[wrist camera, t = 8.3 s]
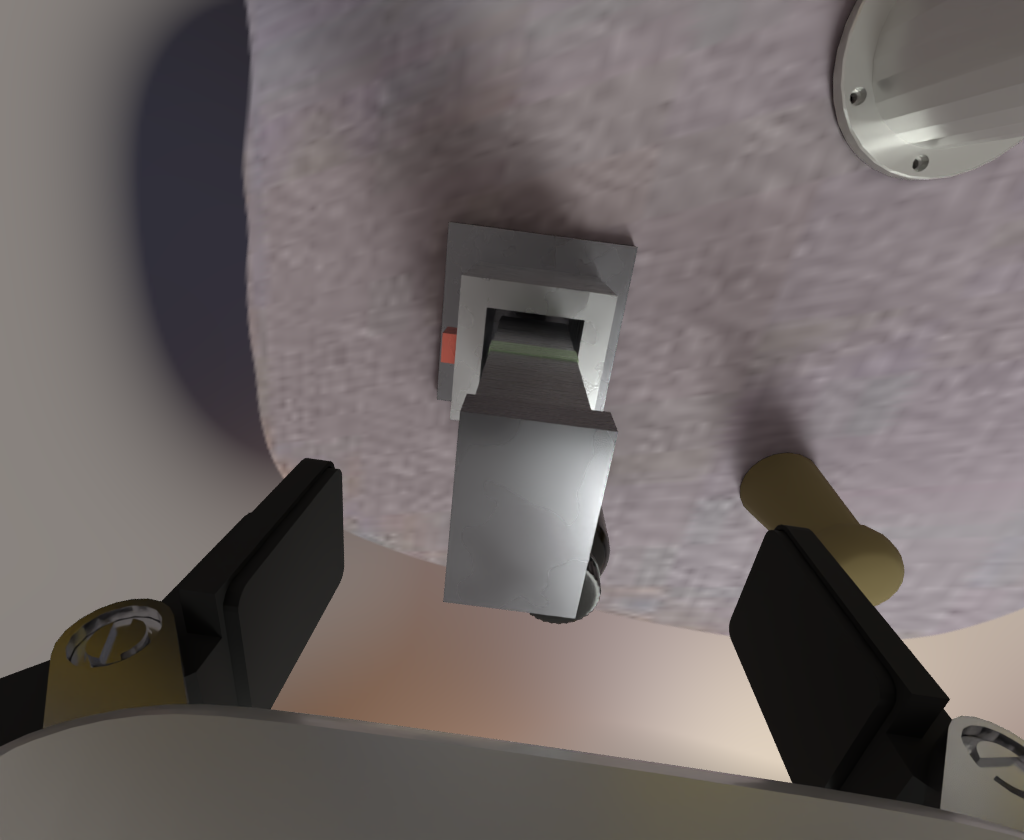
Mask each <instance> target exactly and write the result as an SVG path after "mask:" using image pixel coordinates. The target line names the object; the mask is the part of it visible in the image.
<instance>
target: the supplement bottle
mask: <svg viewBox="0 0 1024 840" xmlns="http://www.w3.org/2000/svg"><path fill="white" fill-rule="evenodd" d="M609 554H610V546H609V538H608V534H607V529H606V524H605V520H604V515H603V510H602V506H601V508H600V512H599V517H598V521H597V526H596V530H595V534H594V539H593V543H592V547H591V552H590V556H589V561H588V565H587V569H586V574H585V578H584V582H583V587H582V591H581V595H580V600H579V604H578V609H577V613H576V617H575V619H574V618H566V617H559V616H551V615H543V614H535V613H530V615H532V616H535V618H537V619H540V620H542V621H544V622H549V623H557V624H561V623H568V622H575V621H576V620H580V619H582V618H583V617H585V616H587V615H588V614H589V613H590V612H592V611H593V609H594V608H595V607H596V606H597V602H598V601H599V600H600V594H601V588H600V576H601V574H602V573H603V571H604V570H605V568H606V566H607V563H608V560H609Z"/></svg>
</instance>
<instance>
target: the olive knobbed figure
mask: <svg viewBox="0 0 1024 840" xmlns="http://www.w3.org/2000/svg"><path fill="white" fill-rule="evenodd" d="M740 498H741V501H742V503H743V506H744V507H745V508H746V509H747V510H748V511H749V512H750V513H751V514H752V515H753V516H754V517H755V518H756V519H757V520H758V521H759V522H760V523H761V524H762V525H763V526H764V527H766V528H767V529H768V530H774V529H775V527H777V526H778V525H781V524H782V525H789V526H796V527H804V528H808V529H810V530H811V531H812V532H813V533H814V534H815V535H816V536H817V538H818V539H819V540H820V541H821V542H822V544H823V545H824V546H825V547H826V549H827V550H828V551H829V552H830V553H831V555H832V556H833V557H834V558H835V559H836V561H837V562H838V563H839V564H840V566H841V567H842V568H843V569H844V570H845V572H846V573H847V574H848V575H849V577H850V578H851V579H852V580H853V581H854V583H855V584H856V585H857V586H858V588H859V589H860V590H861V591H862V592H863V594H864V595H865V596H866V597H867V599H868V600H869V601H870V602H871V603H872V605H873V606H876V605H879V604H881V603H882V602H884V601H886V600H888V599H889V598H890V597H891V596H892V595H893V594H894V593H895V592H897V590H898V589H899V587H900V585H901V584H902V582H903V577H904V565H903V561H902V557H901V555H900V553H899V551H898V550H897V548H896V547H895V546H894V545H893V544H892V543H891V542H890V540H888V539H887V538H886V537H885V536H884V535H883V534H881V533H879V532H877V531H875V530H873V529H871V528H869V527H867V526H865V525H860V524H859V522H858V521H857V520H856V519H855V517H854V516H853V515H852V513H851V512H850V511H849V509H848V508H847V507H846V505H845V504H844V503H843V501H842V500H841V499H840V497H839V496H838V495H837V493H836V492H835V491H834V489H833V488H832V487H831V485H830V484H829V483H828V481H827V480H826V479H825V477H824V476H823V475H822V473H821V472H820V471H819V469H818V468H817V467H816V466H815V465H814V463H813V462H812V461H811V460H810V459H808V458H806V457H804V456H802V455H800V454H793V453H781V454H774V455H772V456H769V457H767V458H764V459H762V460H761V461H759V462H758V463H757V464H755V465H754V466H752V467H751V469H750V470H749V471H748V472H747V474H746V475H745V476H744V478H743V481H742V484H741V486H740Z"/></svg>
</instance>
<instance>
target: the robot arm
mask: <svg viewBox="0 0 1024 840" xmlns="http://www.w3.org/2000/svg"><path fill="white" fill-rule="evenodd" d="M850 95H851V96H852V97H853V100H852V103H851V102H850ZM833 101H834V106H835V111H836V116H837V121H838V124H839V126H840V129H841V131H842V133H843V136H844V138H845V140H846V142H847V143H848V145H849V146H850V147H851V149H852V150H853V151H854V153H855V154H856V155H857V157H858V158H860V159H861V160H862V161H863V162H865V163H866V164H867V165H868V166H870V167H871V168H872V169H874V170H876V171H879V172H881V173H883V174H885V175H887V176H890V177H895V178H900V179H905V180H931V179H939V178H946V177H952V176H955V175H959V174H962V173H965V172H968V171H971V170H974V169H976V168H978V167H980V166H982V165H984V164H986V163H988V162H990V161H992V160H994V159H996V158H998V157H999V156H1001V155H1002V154H1004V153H1005V152H1007V151H1008V150H1009V149H1011V148H1012V147H1014V146H1015V145H1017V144H1018V143H1019V142H1020V141H1022V140H1023V139H1024V0H857V1H856V3H855V6H854V8H853V10H852V12H851V14H850V16H849V18H848V20H847V22H846V24H845V27H844V31H843V34H842V37H841V40H840V43H839V46H838V50H837V55H836V61H835V67H834V74H833ZM343 542H344V540H343V496H342V472H341V470H340V469H335V467H334V464H333V463H332V462H331V461H324V460H317V459H310V458H305V459H303V460H302V461H301V462H300V463H299V464H298V465H297V466H296V467H295V468H294V469H293V470H292V471H291V472H290V473H289V474H288V475H287V476H286V477H285V478H284V479H283V481H282V482H281V483H280V484H279V485H278V486H277V487H276V488H275V489H274V490H273V491H272V492H271V493H270V494H269V495H268V496H267V497H266V498H265V499H264V500H263V501H262V502H261V503H260V504H259V505H258V506H257V508H256V509H255V510H254V511H253V512H251V513H249V514H247V515H246V516H245V517H243V518H242V519H241V521H239V522H238V523H237V524H236V525H235V526H234V528H233V529H232V530H231V531H230V532H229V533H228V534H227V535H226V536H225V537H224V538H223V539H222V540H221V541H220V542H219V543H218V544H217V545H216V546H215V547H214V548H213V549H212V550H211V551H210V552H209V553H208V554H207V555H206V556H205V557H204V558H203V559H202V561H200V562H199V563H198V564H197V565H196V567H194V569H193V570H192V571H191V572H190V573H189V574H188V575H187V576H186V577H185V578H184V579H183V580H182V581H181V582H180V583H179V584H178V585H177V586H176V587H175V588H174V589H173V590H172V591H171V592H170V593H169V594H168V595H167V596H166V597H165V598H164V599H163V600H162V601H157V600H153V599H131V600H126V601H121V602H116V603H113V604H110V605H108V606H105V607H102V608H100V609H97V610H95V611H93V612H92V613H90V614H88V615H87V616H84V617H83V618H81V619H79V620H78V621H77V622H76V623H74V624H73V625H72V626H71V627H69V628H68V629H67V630H66V631H65V632H64V633H63V634H62V635H61V637H60V638H59V639H58V640H57V642H56V643H55V645H54V648H53V651H52V653H51V658H50V660H49V661H46V662H44V663H41V664H38V665H35V666H33V667H30V668H27V669H24V670H22V671H19V672H16V673H14V674H11V675H8V676H6V677H3V678H0V840H1024V740H1022V739H1021V738H1020V737H1018V736H1017V735H1015V734H1013V733H1012V732H1010V731H1009V730H1006V729H1004V728H1002V727H1000V726H998V725H996V724H994V723H992V722H989V721H986V720H983V719H980V718H977V717H969V716H960V717H957V718H955V719H951V718H950V717H949V715H948V714H947V713H946V711H945V710H944V709H943V708H944V707H945V706H946V704H947V703H948V701H949V700H950V699H949V697H948V696H947V695H946V694H945V693H944V691H943V690H942V689H941V688H940V686H939V685H938V684H937V683H936V682H935V680H934V679H933V678H932V677H931V675H930V674H929V673H928V672H927V671H926V669H925V668H924V667H923V666H922V665H921V663H920V662H919V661H918V660H917V658H916V657H915V656H914V655H913V654H912V652H911V651H910V650H909V649H908V647H907V646H906V645H905V644H904V643H903V641H902V640H901V639H900V638H899V636H898V635H897V634H896V633H895V631H894V630H893V629H892V628H891V627H890V625H889V624H888V623H887V622H886V621H885V619H884V618H883V617H882V616H881V614H880V613H879V612H878V611H877V610H876V608H875V607H874V606H873V605H872V603H871V602H870V601H869V600H868V599H867V597H866V596H865V595H864V594H863V592H862V591H861V590H860V589H859V588H858V586H857V585H856V584H855V583H854V581H853V580H852V579H851V578H850V577H849V575H848V574H847V573H846V572H845V570H844V569H843V568H842V567H841V566H840V564H839V563H838V562H837V561H836V559H835V558H834V557H833V556H832V555H831V553H830V552H829V551H828V550H827V549H826V547H825V546H824V545H823V544H822V542H821V541H820V540H819V539H818V538H817V536H816V535H815V534H814V533H813V532H812V531H811V530H810V529H808V528H804V527H796V526H789V525H782V524H781V525H778V526H777V527H775V529H774V530H769V531H768V532H767V533H766V535H765V537H764V539H763V542H762V544H761V547H760V549H759V551H758V554H757V556H756V559H755V561H754V564H753V566H752V568H751V571H750V573H749V576H748V578H747V581H746V583H745V586H744V588H743V590H742V593H741V595H740V598H739V600H738V603H737V605H736V608H735V610H734V612H733V615H732V617H731V620H730V624H729V633H730V638H731V640H732V643H733V645H734V647H735V650H736V652H737V655H738V657H739V659H740V661H741V664H742V666H743V669H744V671H745V673H746V676H747V678H748V680H749V682H750V685H751V687H752V690H753V692H754V694H755V697H756V699H757V701H758V704H759V706H760V708H761V711H762V713H763V715H764V718H765V720H766V722H767V725H768V727H769V730H770V732H771V734H772V736H773V739H774V741H775V743H776V746H777V748H778V751H779V753H780V755H781V758H782V760H783V762H784V765H785V767H786V769H787V772H788V774H789V776H790V779H791V781H792V783H788V782H781V781H774V780H768V779H761V778H755V777H748V776H741V775H735V774H728V773H722V772H715V771H708V770H702V769H695V768H689V767H682V766H675V765H669V764H662V763H655V762H647V761H641V760H635V759H628V758H621V757H614V756H607V755H600V754H593V753H587V752H580V751H573V750H566V749H559V748H552V747H544V746H538V745H531V744H524V743H517V742H510V741H503V740H497V739H489V738H482V737H474V736H468V735H461V734H453V733H446V732H439V731H431V730H425V729H418V728H410V727H403V726H396V725H389V724H382V723H374V722H367V721H360V720H353V719H345V718H336V717H328V716H320V715H311V714H303V713H295V712H287V711H279V710H271V707H272V706H273V704H274V702H275V700H276V698H277V697H278V695H279V693H280V691H281V689H282V687H283V686H284V684H285V682H286V680H287V678H288V676H289V674H290V673H291V671H292V669H293V667H294V665H295V664H296V662H297V660H298V658H299V656H300V654H301V653H302V651H303V649H304V647H305V646H306V644H307V642H308V640H309V638H310V636H311V635H312V633H313V631H314V629H315V627H316V626H317V624H318V622H319V620H320V618H321V616H322V615H323V613H324V611H325V609H326V607H327V605H328V603H329V602H330V600H331V598H332V596H333V595H334V593H335V590H336V589H337V587H338V585H339V583H340V581H341V579H342V576H343V571H344V543H343Z"/></svg>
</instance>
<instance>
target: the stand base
mask: <svg viewBox="0 0 1024 840" xmlns="http://www.w3.org/2000/svg"><path fill="white" fill-rule="evenodd" d="M637 248H638V247H636V246H629V245H622V244H614V243H607V242H599V241H592V240H584V239H577V238H569V237H562V236H554V235H547V234H539V233H532V232H524V231H517V230H509V229H502V228H494V227H487V226H479V225H472V224H464V223H457V222H449V225H448V240H447V255H446V270H445V285H444V300H443V315H442V330H441V345H440V360H439V375H438V390H437V400H445V401H452V402H451V414H450V419H451V420H459V417H460V410H461V408H462V405H463V402H464V400H465V397H466V394H476V391H477V388H478V385H479V382H480V379H481V376H482V373H483V370H484V366H485V363H486V360H487V357H488V352H489V347H490V344H491V341H492V340H493V339H494V336H495V333H496V330H497V327H498V324H499V321H500V318H501V315H502V316H510V317H518V318H525V319H533V320H540V321H548V322H555V323H563V324H567V328H568V331H569V335H570V338H571V342H572V345H573V348H574V351H576V353H577V356H578V360H579V362H578V366H579V369H580V372H581V376H582V379H583V383H584V386H585V390H586V393H587V396H588V400H589V403H590V407H591V410H597V411H603V409H604V404H605V399H606V395H607V390H608V385H609V380H610V376H611V371H612V366H613V362H614V357H615V352H616V347H617V343H618V338H619V333H620V328H621V324H622V319H623V314H624V310H625V305H626V300H627V295H628V291H629V286H630V281H631V277H632V272H633V267H634V262H635V258H636V253H637Z"/></svg>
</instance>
